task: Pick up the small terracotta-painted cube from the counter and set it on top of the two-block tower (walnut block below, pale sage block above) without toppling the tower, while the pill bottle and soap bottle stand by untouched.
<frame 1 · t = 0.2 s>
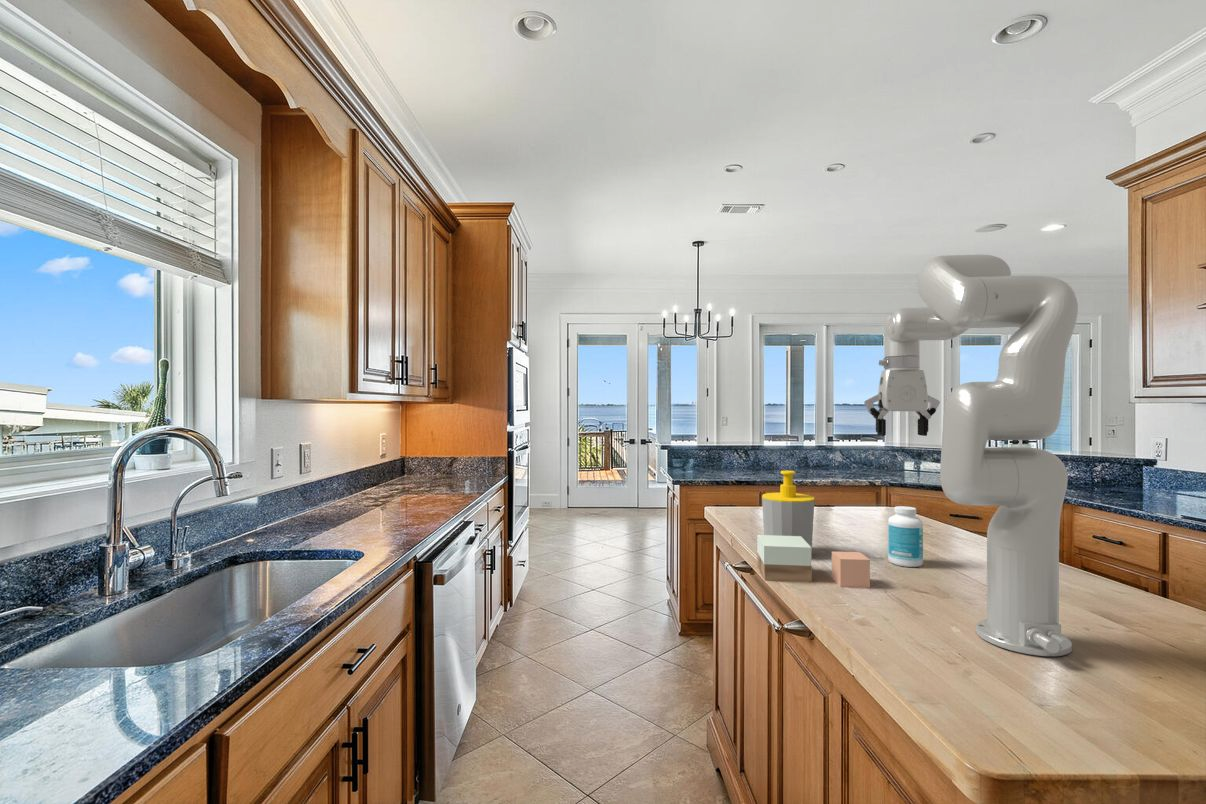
hand: (901, 435, 137), 31 cm above the counter, fingers open, 9 cm apart
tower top: (783, 558, 129), point 4 cm above the counter, touching tower base
soap bottle: (788, 554, 146), on the counter
cube: (850, 583, 123), on the counter
pill bottle: (905, 564, 137), on the counter
tower base: (783, 576, 129), on the counter, touching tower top
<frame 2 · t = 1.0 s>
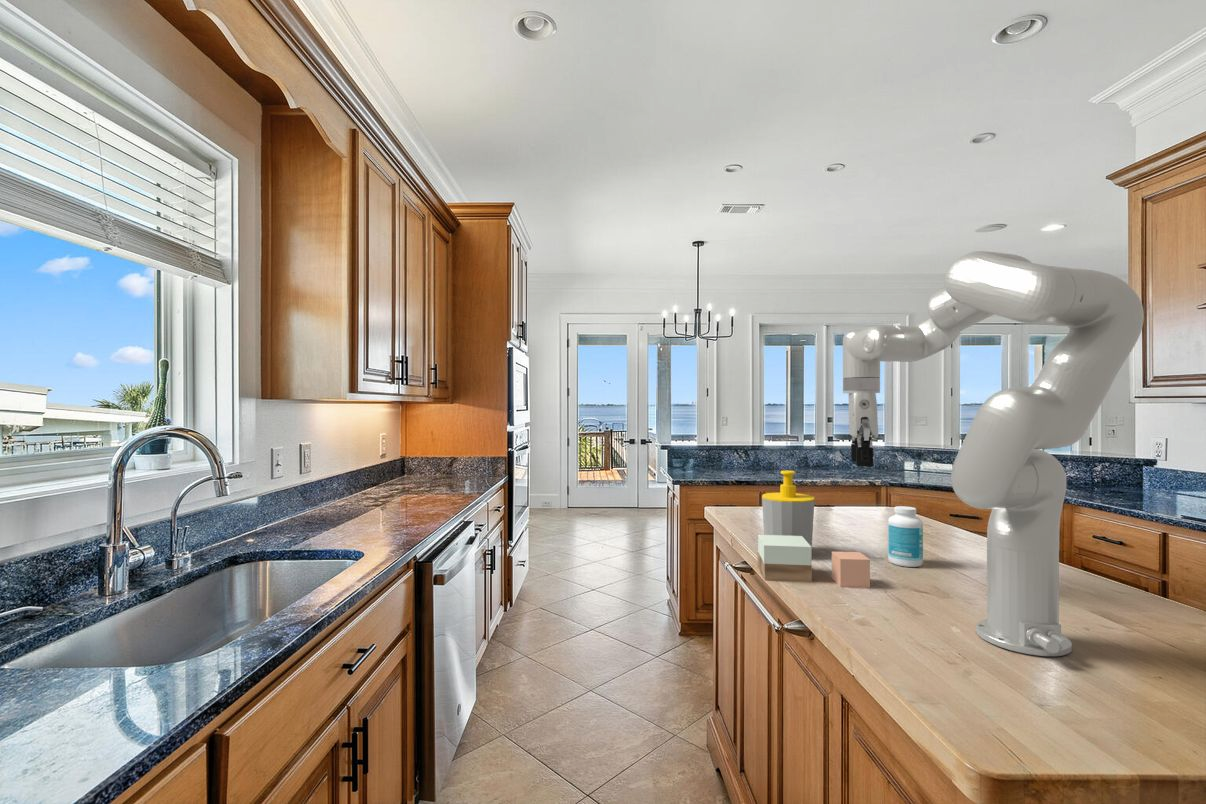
hand: (861, 463, 126), 25 cm above the counter, fingers open, 9 cm apart
nothing on the counter moved.
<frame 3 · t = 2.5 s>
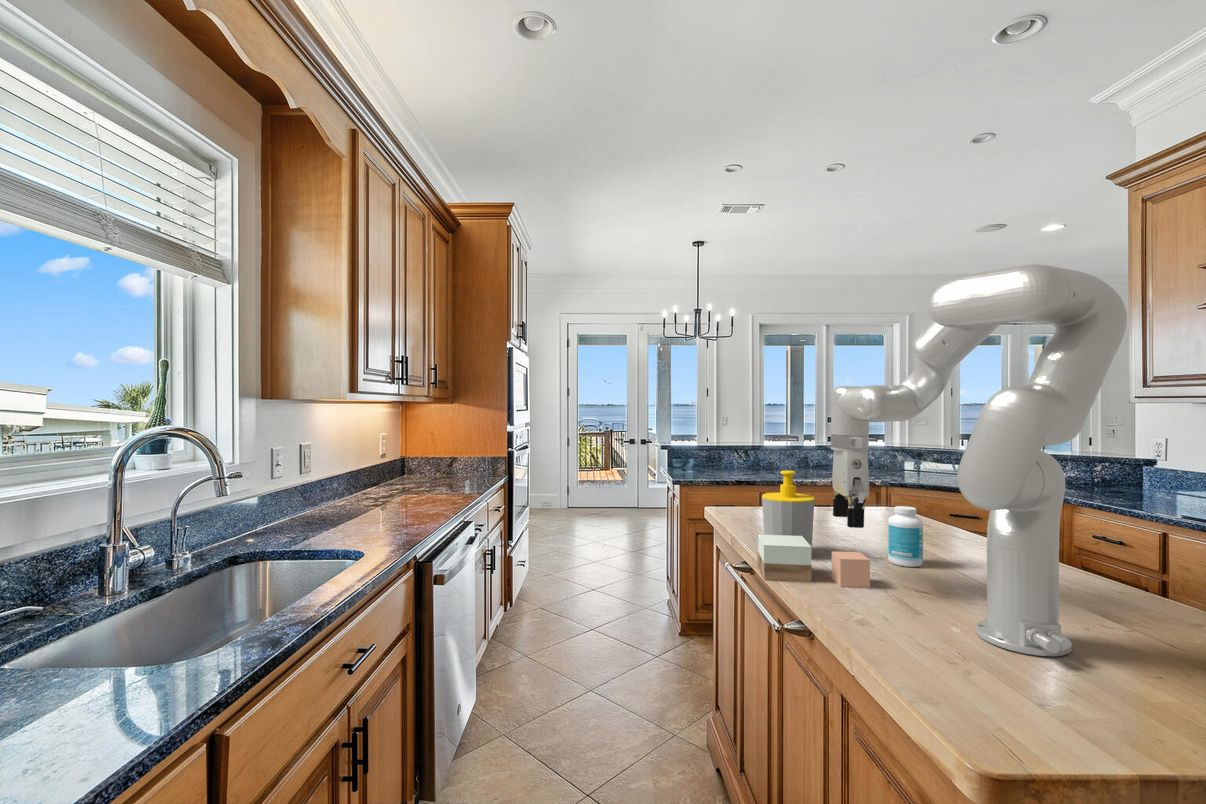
hand: (847, 521, 123), 13 cm above the counter, fingers open, 9 cm apart
nothing on the counter moved.
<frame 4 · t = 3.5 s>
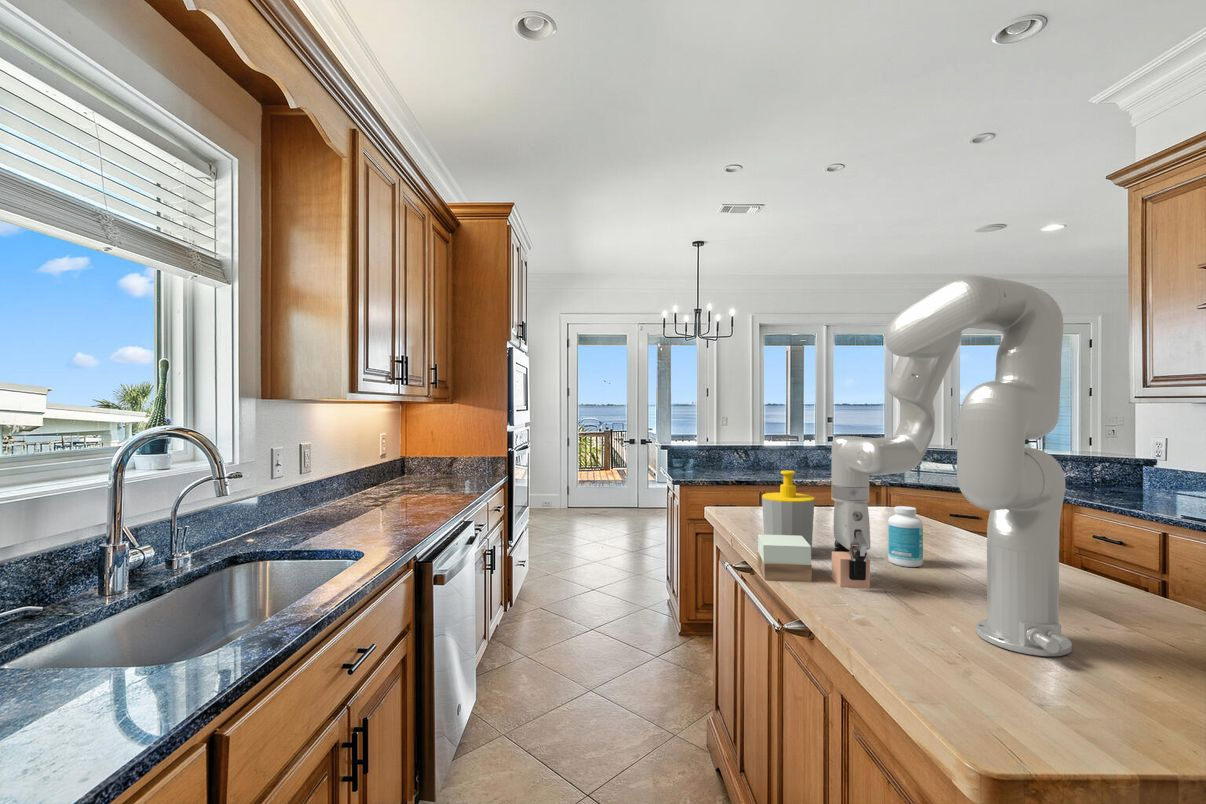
hand: (849, 572, 123), 2 cm above the counter, fingers open, 9 cm apart
nothing on the counter moved.
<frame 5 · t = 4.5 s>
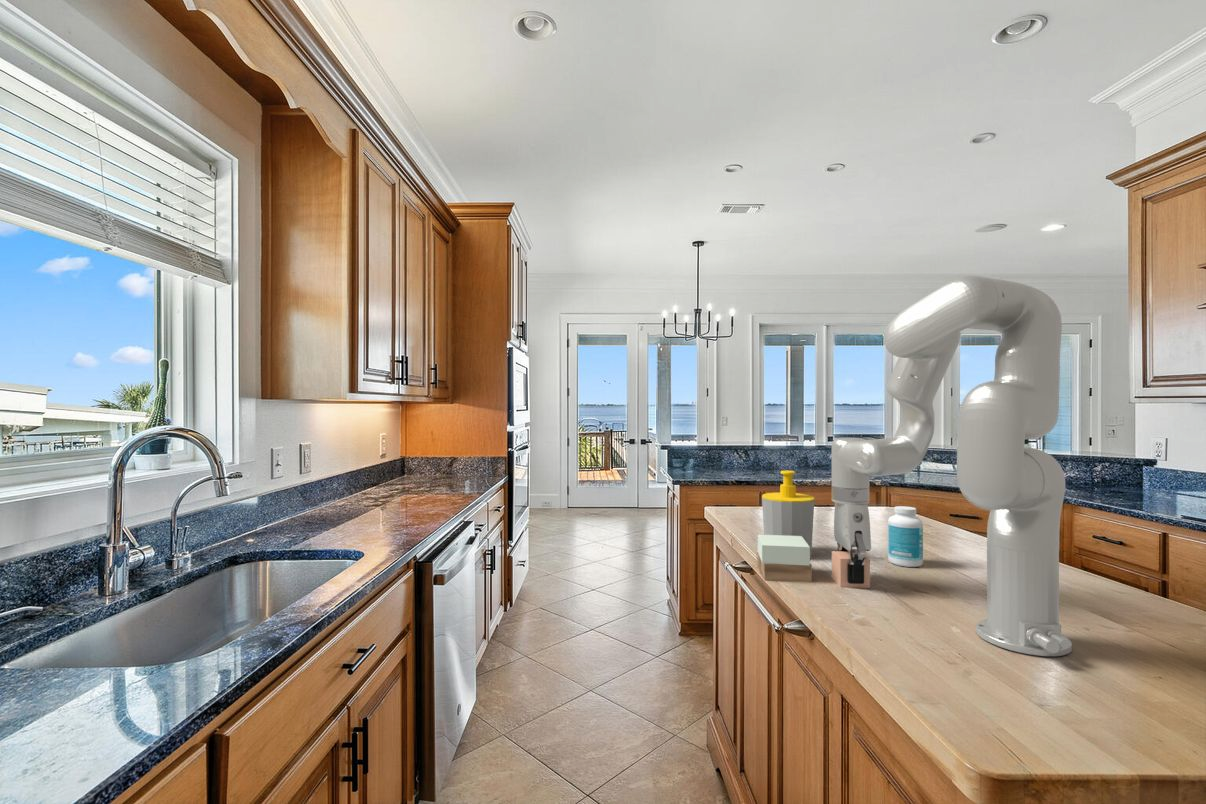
hand: (850, 577, 123), 1 cm above the counter, fingers closed on cube, 6 cm apart
cube: (850, 582, 123), on the counter, touching gripper
everything else where it was.
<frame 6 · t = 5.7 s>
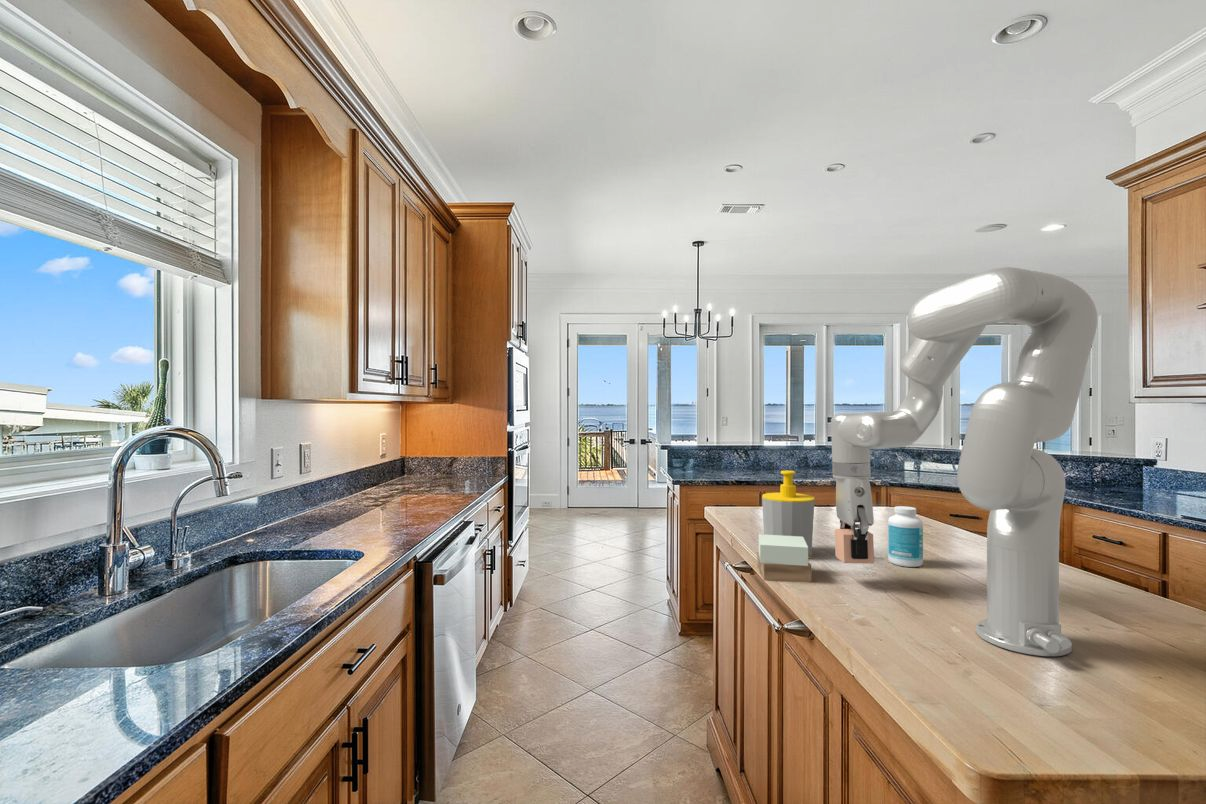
hand: (854, 554, 122), 6 cm above the counter, fingers closed on cube, 6 cm apart
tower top: (782, 558, 129), point 4 cm above the counter
cube: (854, 559, 122), point 5 cm above the counter, touching gripper
tower base: (783, 575, 129), on the counter
everything else where it was.
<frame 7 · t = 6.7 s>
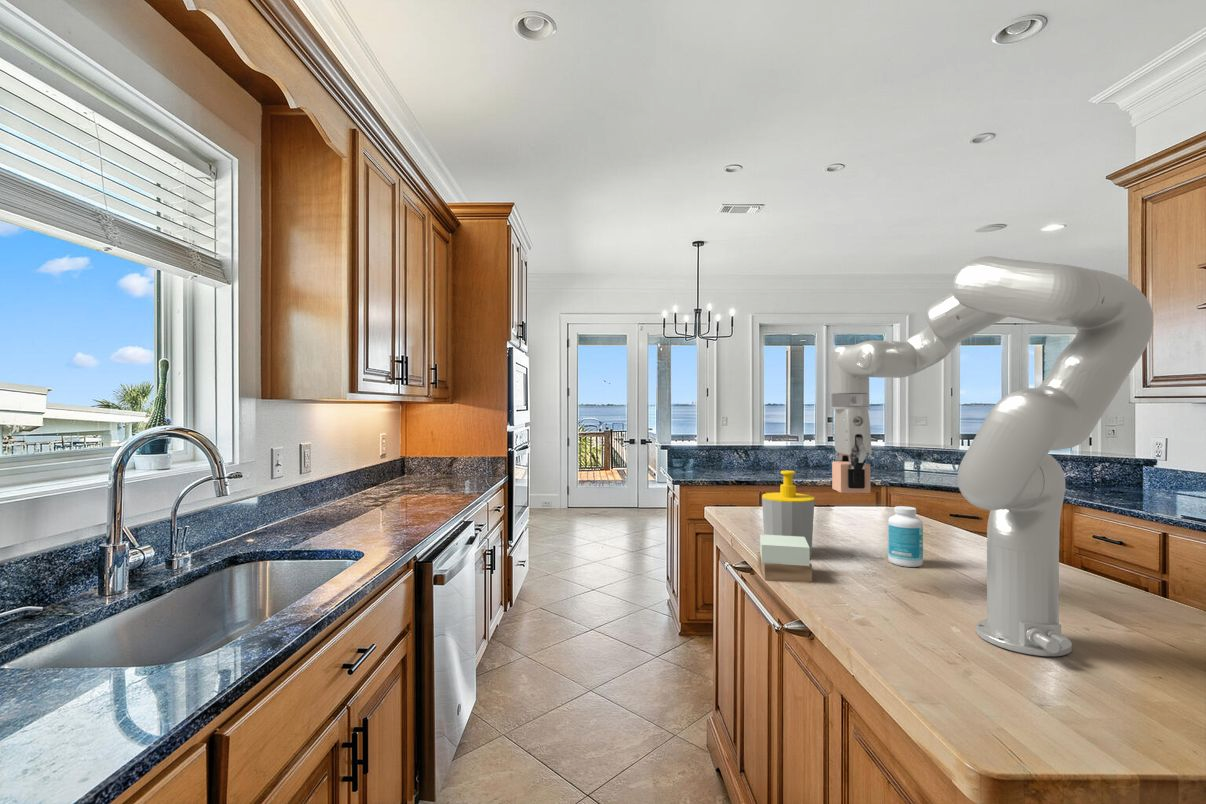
hand: (851, 485, 122), 21 cm above the counter, fingers closed on cube, 6 cm apart
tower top: (783, 558, 129), point 4 cm above the counter, touching tower base
cube: (850, 490, 122), point 20 cm above the counter, touching gripper
tower base: (783, 575, 129), on the counter, touching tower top
everything else where it was.
when the fingers open (10 cm above the counter, at t = 11.9 s): cube drops 1 cm, point 8 cm above the counter.
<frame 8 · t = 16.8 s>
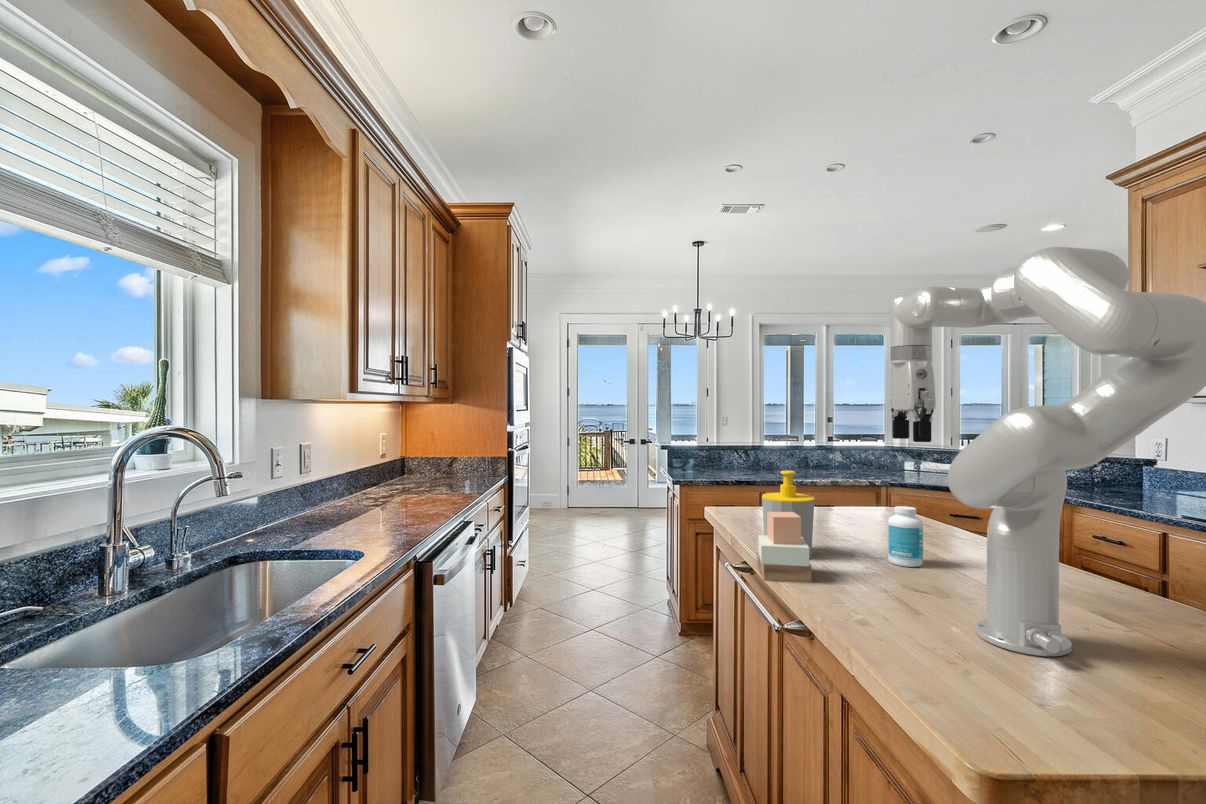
hand: (911, 440, 115), 31 cm above the counter, fingers open, 9 cm apart
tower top: (782, 558, 129), point 4 cm above the counter
cube: (783, 540, 129), point 8 cm above the counter
tower base: (782, 576, 129), on the counter
everything else where it was.
at the end: cube inside the target area on the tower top (0.4 cm from its centre), point 4.0 cm above the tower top's base; cube tilted 0°; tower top moved 0.6 cm from its start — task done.
